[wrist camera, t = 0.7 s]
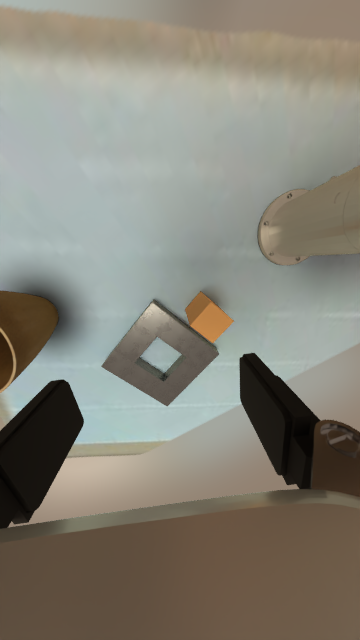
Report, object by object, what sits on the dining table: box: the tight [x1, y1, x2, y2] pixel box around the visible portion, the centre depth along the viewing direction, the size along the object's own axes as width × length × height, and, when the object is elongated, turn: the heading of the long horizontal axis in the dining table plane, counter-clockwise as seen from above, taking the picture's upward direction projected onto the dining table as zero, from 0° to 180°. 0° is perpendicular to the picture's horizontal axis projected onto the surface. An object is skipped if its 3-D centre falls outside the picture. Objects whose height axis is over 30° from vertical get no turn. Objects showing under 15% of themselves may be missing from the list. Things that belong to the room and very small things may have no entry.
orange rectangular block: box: [185, 291, 234, 343], centre depth 32 cm, size 5×5×10 cm
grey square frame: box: [101, 300, 219, 406], centre depth 38 cm, size 18×18×3 cm
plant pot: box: [0, 291, 59, 393], centre depth 28 cm, size 15×15×16 cm
